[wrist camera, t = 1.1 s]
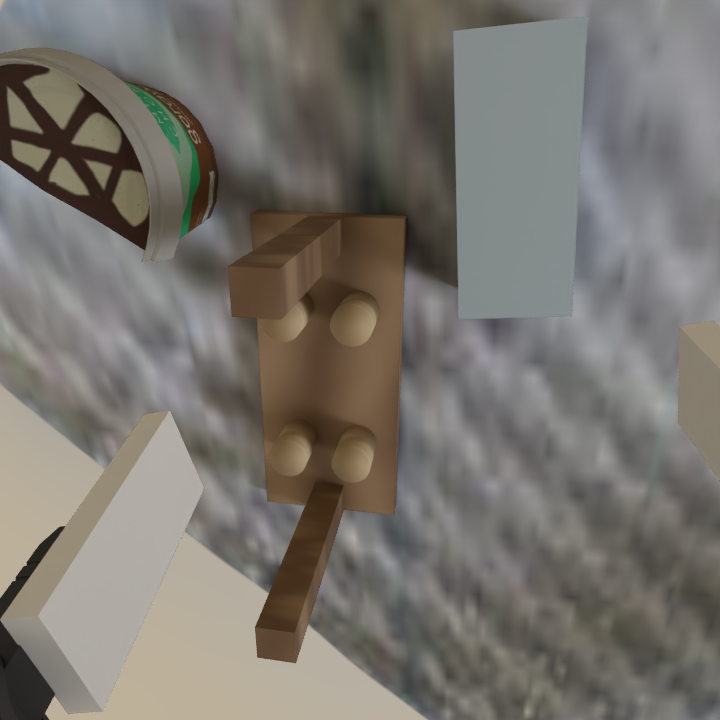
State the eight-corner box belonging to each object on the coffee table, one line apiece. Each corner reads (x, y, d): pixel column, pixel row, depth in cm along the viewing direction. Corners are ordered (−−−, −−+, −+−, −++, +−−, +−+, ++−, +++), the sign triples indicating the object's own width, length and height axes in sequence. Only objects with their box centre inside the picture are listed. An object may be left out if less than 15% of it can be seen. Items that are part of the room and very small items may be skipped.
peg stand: (406, 215, 35) (372, 273, 22) (395, 504, 42) (365, 673, 29) (257, 210, 36) (141, 262, 23) (272, 491, 44) (191, 647, 31)
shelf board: (565, 34, 30) (587, 15, 25) (555, 285, 35) (571, 316, 30) (455, 46, 31) (453, 30, 26) (460, 288, 36) (458, 319, 30)
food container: (276, 139, 34) (207, 148, 25) (230, 231, 37) (152, 268, 28) (88, 17, 34) (-54, -21, 24) (54, 118, 36) (-87, 119, 27)
